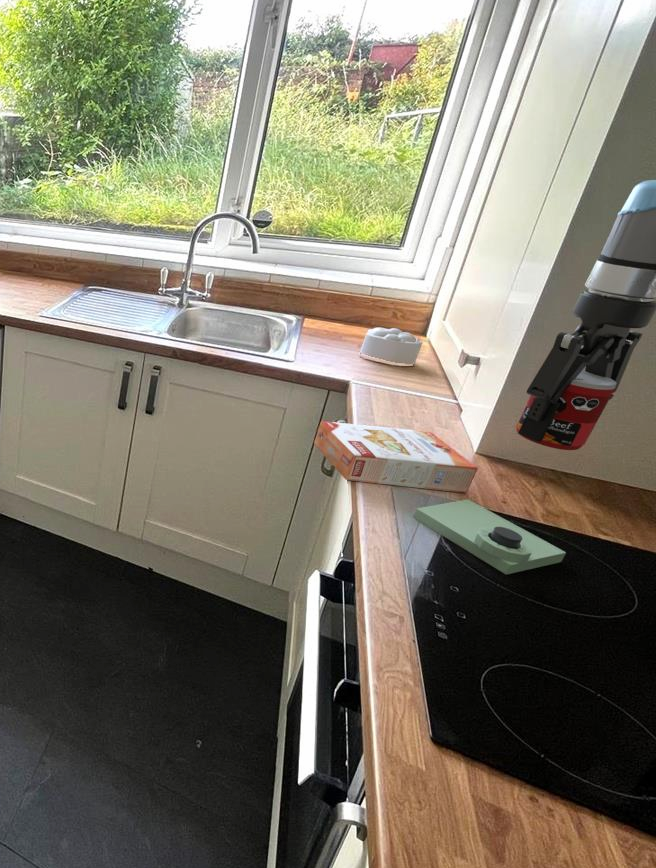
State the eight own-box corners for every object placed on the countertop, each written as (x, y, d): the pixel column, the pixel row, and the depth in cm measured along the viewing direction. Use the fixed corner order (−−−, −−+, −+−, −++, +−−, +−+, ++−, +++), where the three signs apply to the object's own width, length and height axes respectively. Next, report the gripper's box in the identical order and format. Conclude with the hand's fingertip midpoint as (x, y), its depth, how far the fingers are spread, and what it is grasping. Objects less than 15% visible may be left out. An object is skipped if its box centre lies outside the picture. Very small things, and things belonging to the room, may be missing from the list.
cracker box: (481, 466, 103) (354, 454, 106) (468, 494, 106) (344, 482, 108) (431, 429, 116) (319, 419, 119) (420, 455, 119) (311, 445, 121)
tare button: (523, 547, 87) (528, 538, 87) (507, 551, 87) (512, 541, 86) (499, 534, 90) (503, 525, 90) (484, 537, 89) (488, 528, 89)
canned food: (502, 430, 93) (532, 367, 89) (532, 424, 96) (563, 362, 92) (563, 455, 87) (598, 388, 82) (593, 447, 89) (629, 382, 85)
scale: (561, 562, 89) (571, 544, 88) (503, 575, 86) (513, 557, 85) (463, 508, 102) (471, 491, 100) (410, 517, 99) (417, 500, 97)
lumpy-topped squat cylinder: (362, 349, 177) (371, 322, 174) (415, 360, 169) (425, 332, 166) (357, 358, 170) (366, 330, 167) (412, 370, 162) (423, 341, 159)
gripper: (603, 305, 76) (529, 454, 85) (706, 299, 81) (625, 440, 90) (537, 289, 83) (474, 429, 92) (635, 285, 88) (567, 418, 97)
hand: (549, 434), depth 91 cm, fingers closed on canned food, 8 cm apart
